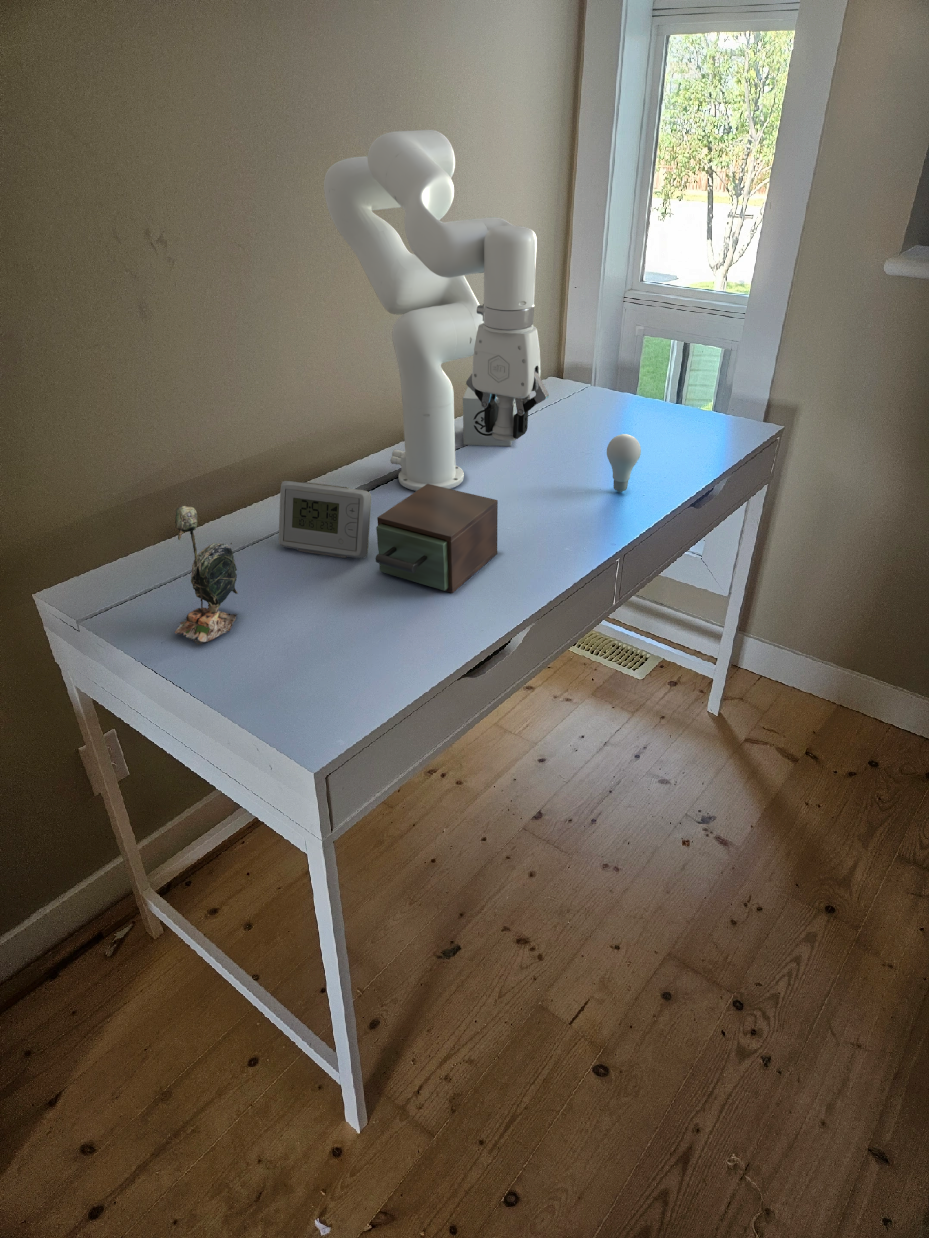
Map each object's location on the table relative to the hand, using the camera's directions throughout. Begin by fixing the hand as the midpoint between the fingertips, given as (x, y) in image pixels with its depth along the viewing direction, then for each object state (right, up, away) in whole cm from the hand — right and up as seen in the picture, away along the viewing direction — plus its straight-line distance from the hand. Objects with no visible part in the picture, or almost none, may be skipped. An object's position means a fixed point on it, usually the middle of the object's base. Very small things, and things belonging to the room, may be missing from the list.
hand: (505, 431), depth 135 cm
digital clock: (-29, -19, +3) cm, 35 cm away
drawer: (-13, -23, -5) cm, 26 cm away
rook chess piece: (0, -1, +1) cm, 1 cm away
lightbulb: (+22, -7, +19) cm, 30 cm away
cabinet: (-11, -22, -2) cm, 24 cm away
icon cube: (-1, +9, +44) cm, 45 cm away
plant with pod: (-43, -31, -16) cm, 55 cm away
